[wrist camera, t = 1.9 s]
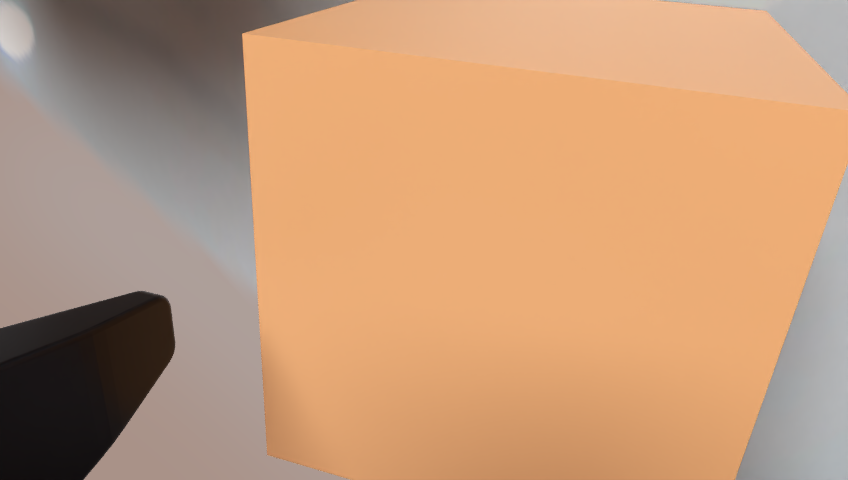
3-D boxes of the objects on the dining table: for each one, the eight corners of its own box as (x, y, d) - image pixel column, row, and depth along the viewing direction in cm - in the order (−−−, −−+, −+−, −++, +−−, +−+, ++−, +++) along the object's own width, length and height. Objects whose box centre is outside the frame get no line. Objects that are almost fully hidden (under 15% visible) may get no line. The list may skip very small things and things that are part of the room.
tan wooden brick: (685, 308, 18) (698, 582, 11) (415, 253, 20) (267, 454, 13) (766, 10, 15) (865, 112, 7) (431, -22, 17) (241, 33, 9)
